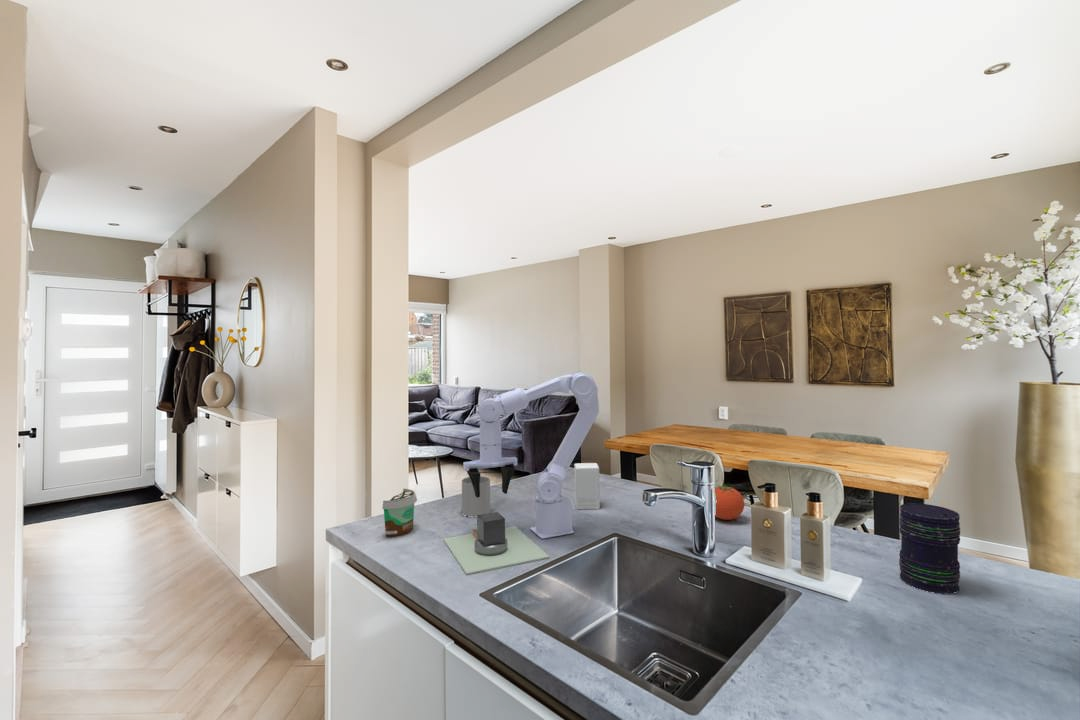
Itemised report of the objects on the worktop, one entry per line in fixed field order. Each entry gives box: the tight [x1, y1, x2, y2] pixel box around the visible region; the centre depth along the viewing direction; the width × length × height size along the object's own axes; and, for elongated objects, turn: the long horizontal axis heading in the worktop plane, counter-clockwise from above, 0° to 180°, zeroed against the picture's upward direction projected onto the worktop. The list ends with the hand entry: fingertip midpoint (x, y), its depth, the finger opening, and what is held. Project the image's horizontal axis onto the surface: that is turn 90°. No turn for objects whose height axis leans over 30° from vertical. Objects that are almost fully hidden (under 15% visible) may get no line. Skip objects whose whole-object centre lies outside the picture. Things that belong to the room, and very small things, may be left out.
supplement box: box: [573, 462, 601, 510], centre depth 156 cm, size 7×7×13 cm
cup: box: [461, 475, 491, 517], centre depth 151 cm, size 8×8×10 cm
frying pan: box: [471, 528, 508, 556], centre depth 126 cm, size 16×8×6 cm, turn 24°
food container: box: [381, 488, 418, 538], centre depth 136 cm, size 12×6×10 cm, turn 168°
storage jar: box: [898, 502, 961, 594], centre depth 103 cm, size 10×10×15 cm
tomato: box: [714, 483, 745, 521], centre depth 142 cm, size 10×10×10 cm
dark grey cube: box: [476, 511, 506, 547], centre depth 122 cm, size 5×5×6 cm
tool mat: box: [442, 525, 550, 576], centre depth 124 cm, size 20×22×1 cm
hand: (491, 494), depth 134 cm, fingers open, 7 cm apart
